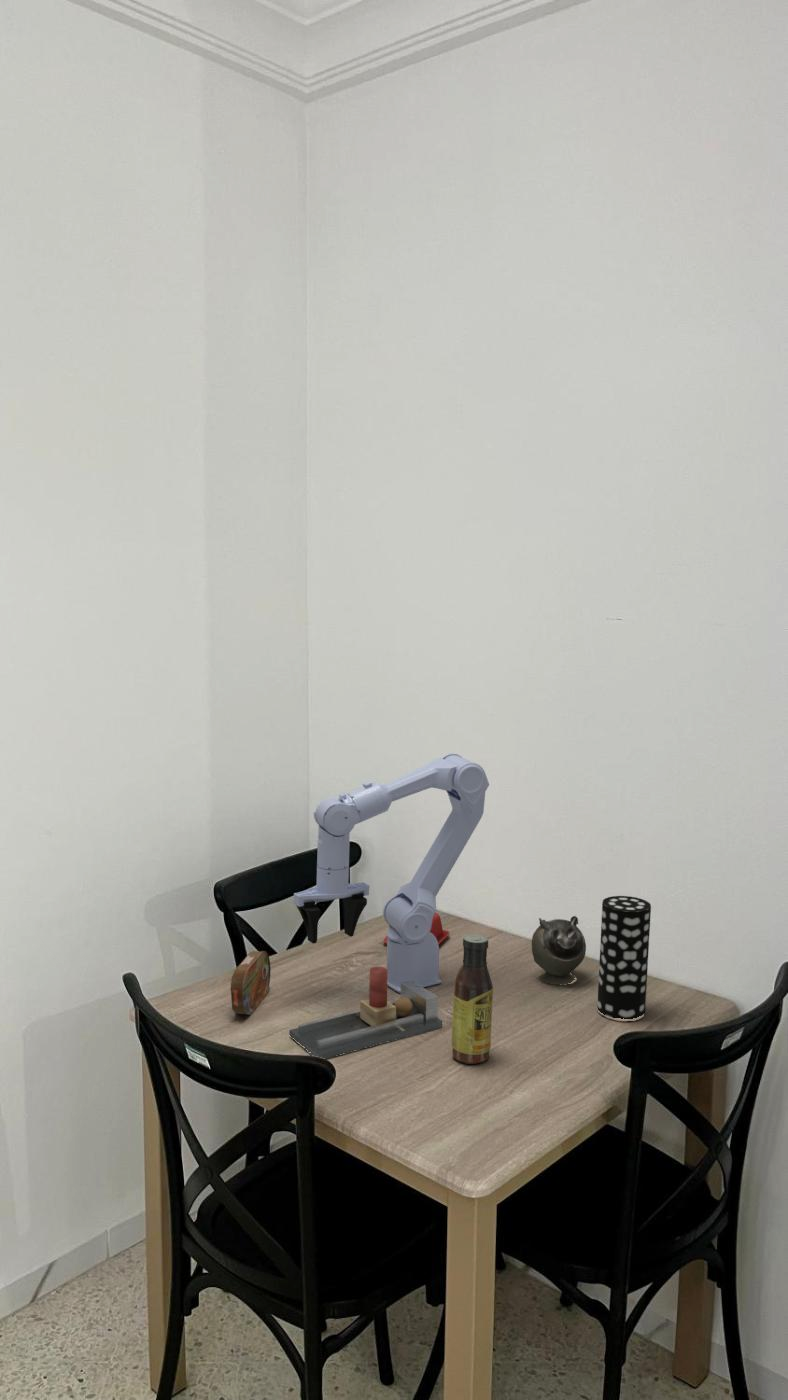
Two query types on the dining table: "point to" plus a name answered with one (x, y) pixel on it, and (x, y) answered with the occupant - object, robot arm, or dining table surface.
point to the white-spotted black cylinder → (623, 957)
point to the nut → (403, 1006)
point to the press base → (368, 1026)
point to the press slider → (377, 1000)
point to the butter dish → (435, 929)
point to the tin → (250, 982)
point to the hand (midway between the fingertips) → (330, 938)
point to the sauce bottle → (472, 1003)
